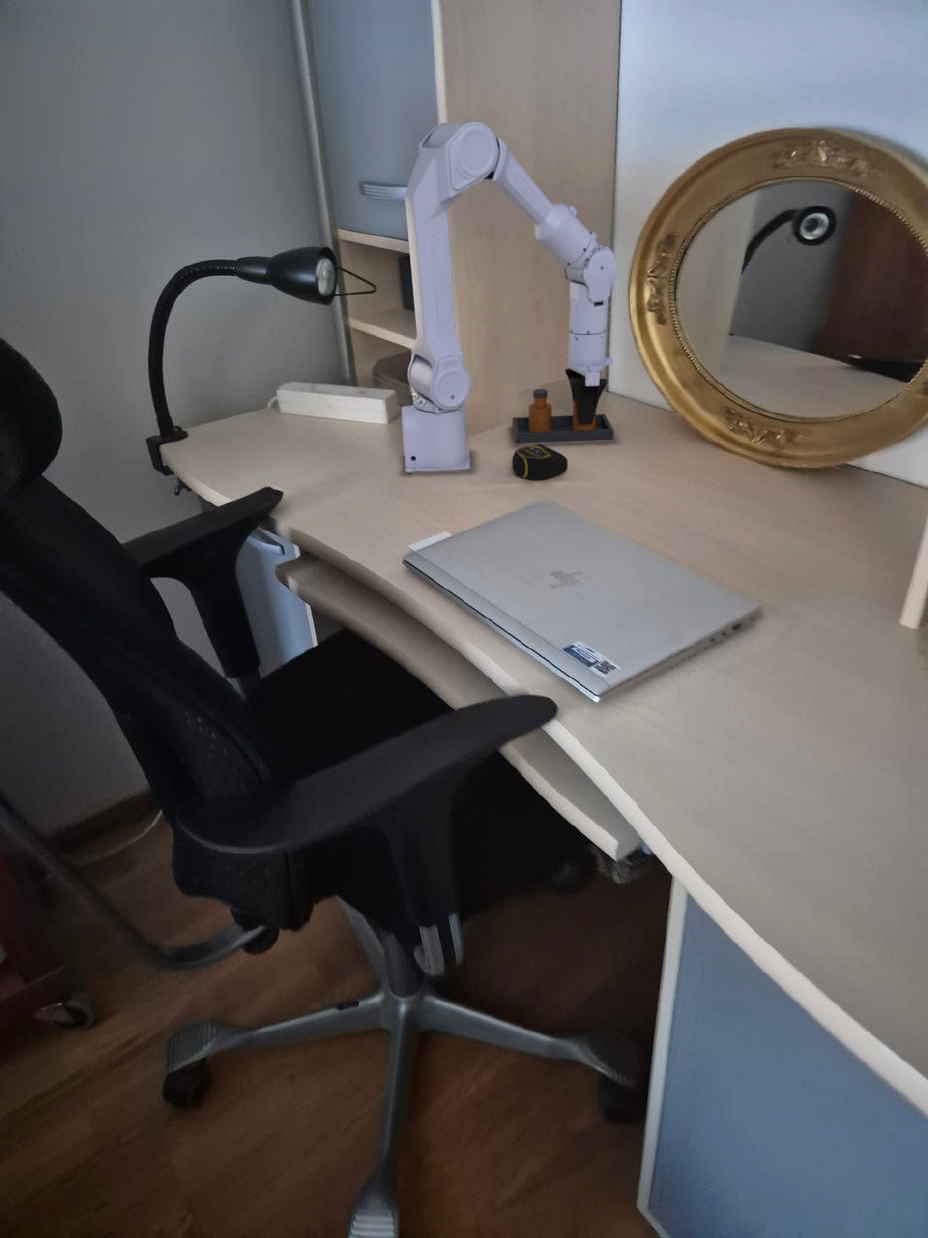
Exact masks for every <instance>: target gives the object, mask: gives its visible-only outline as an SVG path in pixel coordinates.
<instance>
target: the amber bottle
mask: <svg viewBox="0 0 928 1238" xmlns="http://www.w3.org/2000/svg"><path fill="white" fill-rule="evenodd" d="M572 402H573V405H572V415H573V430H575V431H579V430H594V429H595V421H596V414H597V411H596V412H595V416H594V420H593V422H592V423H588V424H579V421H578V416H577V408H576V400H574V401H573V400H572Z"/></svg>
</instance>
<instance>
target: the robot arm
mask: <svg viewBox="0 0 928 1238" xmlns="http://www.w3.org/2000/svg"><path fill="white" fill-rule="evenodd" d="M479 182H481V183H485V184H490V185H493V187H495V188H496V189H497V190H498V191H499V192H500V193H502V195H504V197H505V198H507V199H508V201H510V202H511V204H513V205H514V206H515V207H516V208H517V209H518V210H519V211H520V212H521V213H522V214H524V215H525V216H526V217H527V218H528V219H529V220H530V221H531V222H532V223H533V237H534V239H535V240H536V241H537V242H538V243H539V244H540V245H541V246H542V247H543V249H544V250H545V251H547V252H548V253H549V255H550V256H551V257H553V259H554V260H555V261H556V262H557V263H558V264H559V265H560V266H561V271H562V275H563V277H564V279H566V280H568V281H569V299H568V300H569V301H568V303H569V304H568V333H567V334H568V335H567V358H566V360H565V365H566V367H567V368H566V369H564V372H565V374H566V377H567V380H568V382H569V385H570V390H571V395H572V402H573V401H574V400H576V408H577V416H578V421H579V424H588V423H592V422H593V420H594V416H595V412H596V413H597V408H598V404H599V401H600V398H601V396H602V394H603V392H604V390H605V389H606V387H607V385H608V380H607V379H606V378H601V377H600V376H601V374H602V372H603V370H604V369H605V368H606V366H607V367H608V366H613V364H614V360H613V358H612V357H606V350H607V349H606V348H607V330H608V315H609V314H608V313H609V312H608V311H609V297H610V296H611V289H612V285H613V283H614V282H615V280H616V278H617V276H618V274H619V270H620V265H619V264H617V261H616V256H615V253H614V252H613V251H612V249H611V248H609V247H608V246H606V245H602V244H598V241H597V238H598V235H597V234H596V233H595V232H594V231H591V230H588V229H587V228H586V227H585V225H584V224H583V223H582V222H581V221H580V220H579V219H578V217H577V214H578V210H576V208H575V207H574V206H573V205H566V204H564V203H561V202H560V203H559V202H557V203H553V204H552V203H551V201H550V200H549V199H548V198H547V196H546V195H545V194H544V192H543V191H542V190H541V189H540V187H538V185H537V183H535V182H534V180H533V179H532V178H531V177H530V175H529V174H528V173H527V172H526V171H525V169H524V168H523V167H522V165H521V164H520V163H519V161H517V159H516V158H515V157H514V156H513V154H512V153H511V151H510V149H509V147H508V146H507V144H506V143H505V142H504V140H502V139H500V138H499V137H498V136H496V135H495V134H494V132H493V131H492V129H491V128H490V127H488V125H486V124H484V123H483V122H480V121H469V122H466V123H454V122H441V123H439V124H436V125H435V126H433V128H432V129H431V130H430V131H429V132H428V133H427V134H426V135H425V136H424V137H423V139H422V140H421V141H420V142H419V143H418V155H417V159H416V162H415V164H414V167H413V170H412V172H411V176H410V178H409V181H408V182H407V183H408V184H407V186H406V189H405V192H404V193H405V194H404V201H405V205H404V206H405V214H406V216H405V217H406V226H407V238H408V248H409V259H410V270H411V271H410V272H411V283H412V293H413V304H414V317H415V328H416V337H415V339H414V341H413V343H412V344H411V346H410V351H411V357H410V361H409V364H408V368H407V375H406V376H407V381H408V383H409V386H410V387H411V389H412V390H413V391H414V392H415V394H416V395H415V398H414V399H415V400H414V404H412V405H404V406H402V408H401V409H402V410H401V425H402V428H401V429H402V440H403V444H402V455H403V457H404V464H405V465H404V466H405V469H404V470H405V473H406V474H412V473H413V472H426V471H428V472H429V471H454V470H457V471H458V470H469V469H471V463H470V462H471V461H470V449H468V448H467V427H466V401H467V400H468V399H469V398H470V394H471V391H472V379H471V376H470V373H469V371H468V370H467V368H466V365H465V359H464V353H463V351H462V349H461V346H460V343H459V341H458V340H457V337H456V326H455V312H454V311H455V310H454V297H453V296H454V295H453V280H452V279H453V278H452V266H451V265H452V263H451V251H450V249H451V248H450V247H451V246H450V234H449V233H450V232H449V219H448V211H449V209H450V207H452V205H453V204H454V203H455V202H456V201H457V199H458V198H459V197H460V196H461V195H462V194H463V192H464V191H466V190H468V189H470V188H471V187H473V186H474V185H476V184H478V183H479Z"/></svg>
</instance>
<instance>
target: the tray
mask: <svg viewBox="0 0 928 1238" xmlns="http://www.w3.org/2000/svg"><path fill="white" fill-rule="evenodd" d="M512 430H513V435H514V441H515V444H518V445H519V444H543V443H569V442H571V443H572V442H591V441H593V442H594V441H597V442H598V441H613V440H614V429H613V427H612V424H611V423H610V421H609V418H608V417H607V415H606V413H596V421H595V429H594V430H579V431H575V430H573V414H568V415H567V414H566V415H551V432H529V416H519V417H518V416H517V417H516V416H515V417H512Z"/></svg>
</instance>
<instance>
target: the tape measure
mask: <svg viewBox="0 0 928 1238" xmlns="http://www.w3.org/2000/svg"><path fill="white" fill-rule="evenodd" d="M568 461H569V460H568V458H567V457H566V456H565V455H563V454H562V453H560V452H558V451H556V450H554V449H552V448H551V447H548V446H546V445H544V444H543V443H536V444H534V445H525V446H524V445H523V446H521V447H519V448H518V449H517V448H516V450H515V451H514V453H513V456H512V461H511V465H512V470H513V472H514V474H515V475H516V476H518V477H520V478H522V479H526V480H530V481H545V480H550V479H552V478H554V477H556V476H558V475H561V474H563V473H565V472H566V471H567V470H568V467H569V466H568V465H569V462H568Z"/></svg>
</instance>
